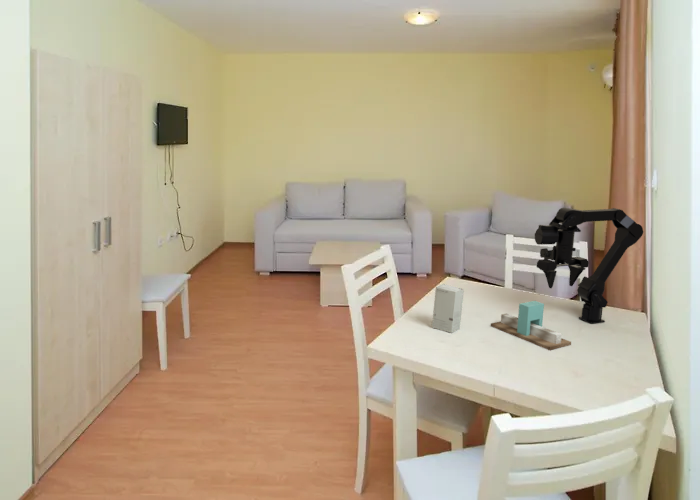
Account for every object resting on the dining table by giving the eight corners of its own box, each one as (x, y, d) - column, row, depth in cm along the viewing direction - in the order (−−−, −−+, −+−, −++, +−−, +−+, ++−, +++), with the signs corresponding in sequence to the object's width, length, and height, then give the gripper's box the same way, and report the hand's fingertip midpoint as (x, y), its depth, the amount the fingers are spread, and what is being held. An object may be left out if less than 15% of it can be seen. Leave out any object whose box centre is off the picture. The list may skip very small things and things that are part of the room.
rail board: (490, 326, 208) (491, 315, 207) (511, 321, 213) (511, 311, 212) (549, 350, 186) (550, 338, 185) (571, 344, 191) (572, 333, 190)
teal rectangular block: (532, 328, 203) (534, 300, 201) (541, 332, 200) (544, 303, 198) (517, 332, 199) (519, 303, 197) (526, 335, 196) (528, 306, 194)
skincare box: (431, 328, 205) (433, 286, 202) (440, 323, 209) (443, 283, 206) (452, 333, 200) (455, 291, 197) (461, 329, 204) (464, 287, 201)
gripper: (569, 238, 219) (565, 279, 222) (528, 241, 212) (524, 283, 215) (591, 244, 209) (587, 287, 212) (549, 247, 202) (545, 291, 205)
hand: (560, 287), depth 211 cm, fingers open, 9 cm apart
